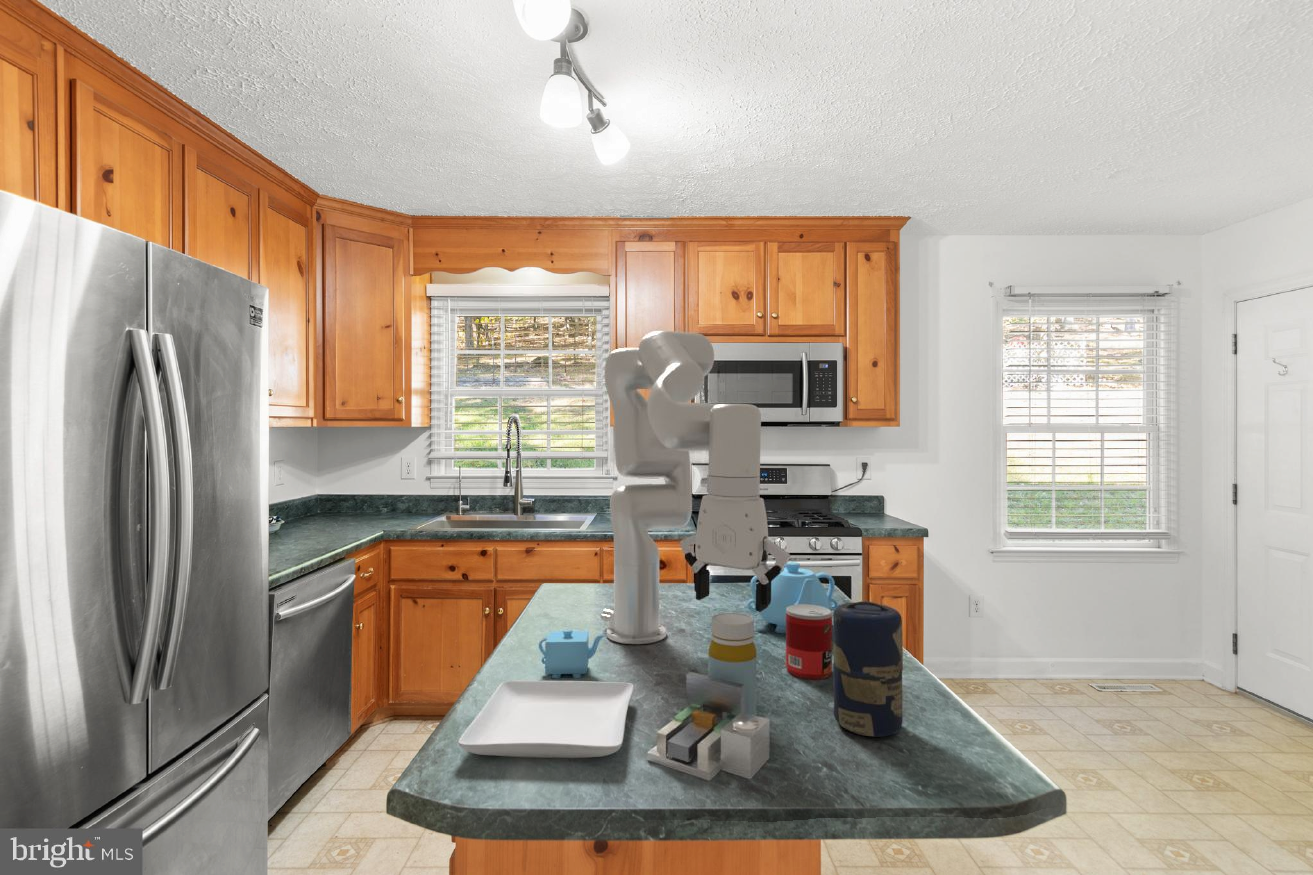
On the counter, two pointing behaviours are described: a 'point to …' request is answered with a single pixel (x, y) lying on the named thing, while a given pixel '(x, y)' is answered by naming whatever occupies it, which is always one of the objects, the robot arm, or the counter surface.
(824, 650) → the canned food
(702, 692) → the grey t-shaped piece
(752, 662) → the bottle
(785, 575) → the teapot
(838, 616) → the canister
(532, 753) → the salad plate
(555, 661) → the teapot
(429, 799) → the counter surface
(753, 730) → the gauge body
